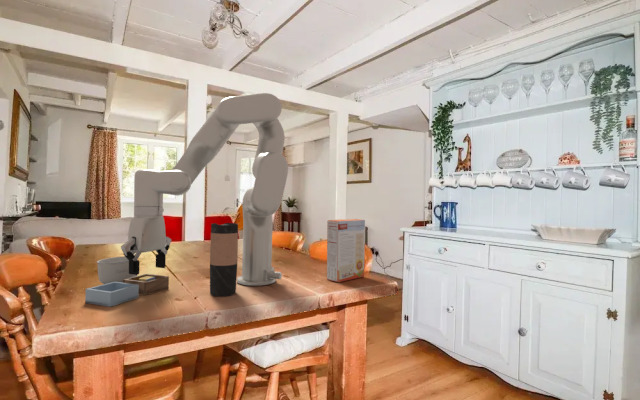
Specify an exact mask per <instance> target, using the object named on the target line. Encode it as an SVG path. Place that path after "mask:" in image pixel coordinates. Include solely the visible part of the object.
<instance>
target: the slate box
mask: <svg viewBox="0 0 640 400" xmlns="http://www.w3.org/2000/svg"><path fill="white" fill-rule="evenodd" d="M138 293H139V285H137V284H129V283H122V282H111V283H107V284H103V283H102V284H100V285H96V286H93V287H88V288H85V295H84V297H85V299H84V303H85V304H92V305H97V306H103V307H108V308H112V307H114V306H117V305H120V304H123V303H127V302H129V301H130V302H131V301H133V300H136V299H138V298H139V294H138Z"/></svg>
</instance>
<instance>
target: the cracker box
mask: <svg viewBox="0 0 640 400" xmlns="http://www.w3.org/2000/svg"><path fill="white" fill-rule="evenodd" d="M326 230H327V231H326V233H327V234H326V236H327V237H326V280H328V281H330V282H331V281H332V282H335V283H341V282H345V281H349V280H354V279H359V278H364V277H365V237H366V233H365V232H366V220H365V219H358V218H352V219H349V218H347V219H346V218H345V219H341V218H340V219H328V220H327V229H326Z"/></svg>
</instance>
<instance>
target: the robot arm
mask: <svg viewBox="0 0 640 400" xmlns="http://www.w3.org/2000/svg"><path fill="white" fill-rule="evenodd" d="M282 108H283V107H282V104H281V101H280V99H279V98H278V97H277V96H276V95H274V94H272V93H268V92H263V93H262V92H261V93H254V94H244V95H235V96H228V97H225V98H223V99H221V100H220V102H218V104H217V106H216V107H215V109H214V110H213V112H212V113H211V114H210V116H209V117H208V118H207V120H206V121H205V122H204V124H203V125H202V126H201V127H200V128H199V130H198V131H197V132H196V133H195V135H193V137H192V139H191V141H190V142H189V144H188V146H187V148H186V150H185V152H183V154H182V156H181V157H180V158H179V160H178V161H177V163H176V164H175V165H174V167H173V168H172V169H171V170H157V169H156V170H155V169H139V170H136V171H135V172H134V178H133V180H134V181H133V184H134V187H133V190H134V191H133V200H134V201H133V217H131V218H130V222H129V226H128V235H127V236H128V237H127V241H126V242H125V243H123V244H122V245H121V246H120V249H121V251H122V253H123V256H125V257H126V258H127V260H129V274H133V275H137V276H139V274H140V260H138V259H139V258H140V256H141V255H142V253H150V252H154V251H155V252H156V253H157V254H155V268H158V269H165V268H166V256H167V255H168V250H169V249H170V247H171V246H170V245H171V242H172V239H171V238H170V237H169V236H166V235H167V234H166V224H165V218H164V211H165V210H164V204H163V203H164V195H169V196H170V195H171V196H177V197H178V196H183V195H185V194H187V193H188V191H189V190H190V189H191V186H192V184H193V183H194V182H195V181H196V179H197V178H198V176H199V175H200V174H201V173H202V171H203V170H204V169H205V167H206V166H208V165H209V163H211V162H212V160H214V159H215V158H216V156H217V155H218V154H219V152H220V151H221V150H222V148H223V147H225V145H226V143H227V142H228V141H229V139H230V138H231V137H232V135H233V133H235V131H236V130H237V128H238V127H239V126H240V125H245V124H246V125H247V124H253V125H254V126H255V128H256V130H257V131H258V141H257V148H256V151H255V156H254V159H253V164H252V167H251V170H252V172H251V173H252V175H253V177H254V179H255V180H254V184H253V186H252V187H250V188H248V189H247V190H246V191H245V192H244V195H243V197H242V205H241V206H242V220H243V222H242V223H243V224H242V225H243V226H242V229H243V232H242V261H241V262H242V263H241V265H242V266H241V275H240V276H237V279H236V283H238V284H239V285H242V286H253V287H255V286H268V285H271V284H274V283H276V280H281V279H282V276H283V275H282V272H281V271H275V267H273V266H272V259H273V258H272V256H273V216H272V215H273V214H275V213H276V212H277V211H278V210H279V208H280V206H281V204H282V201H283V197H284V192H285V187H286V185H287V184H286V183H287V178H288V174H289V164H288V161H287V159H286V157H285V156H284V155H283V153H284V152H283V151H284V146H285V131H284V129H283V125H282V124H281V122H280V120H279V117H280V115H281V113H282V111H283V109H282Z"/></svg>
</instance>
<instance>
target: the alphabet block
mask: <svg viewBox="0 0 640 400" xmlns="http://www.w3.org/2000/svg"><path fill="white" fill-rule="evenodd" d="M151 280H155V277H150V276H145V277H142V278H139V281H144V282H148V281H151Z"/></svg>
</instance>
